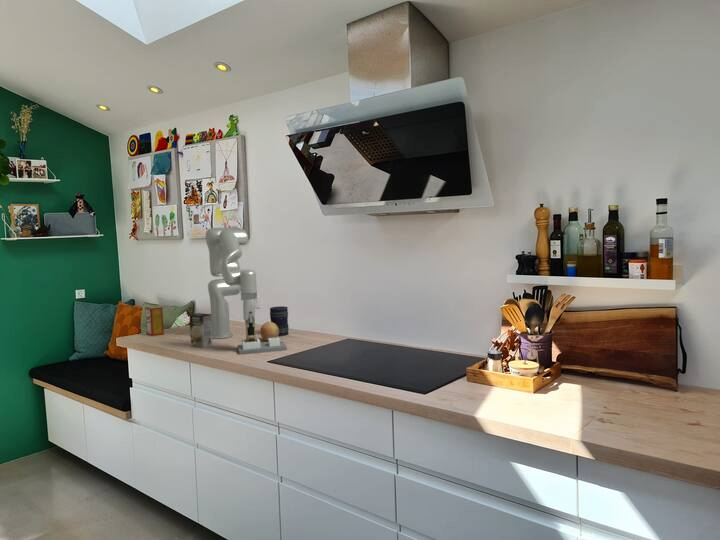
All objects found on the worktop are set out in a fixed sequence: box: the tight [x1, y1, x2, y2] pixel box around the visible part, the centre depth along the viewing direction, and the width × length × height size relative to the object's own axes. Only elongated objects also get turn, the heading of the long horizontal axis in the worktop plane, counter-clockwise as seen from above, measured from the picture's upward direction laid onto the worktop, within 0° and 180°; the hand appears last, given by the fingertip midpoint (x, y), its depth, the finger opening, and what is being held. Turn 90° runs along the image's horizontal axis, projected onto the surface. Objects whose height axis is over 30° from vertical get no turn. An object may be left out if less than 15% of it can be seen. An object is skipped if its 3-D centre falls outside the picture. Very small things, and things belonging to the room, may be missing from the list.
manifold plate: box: [237, 336, 288, 355], centre depth 244 cm, size 14×22×4 cm, turn 107°
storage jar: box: [269, 305, 290, 337], centre depth 278 cm, size 10×10×15 cm
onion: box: [259, 321, 279, 341], centre depth 263 cm, size 10×10×10 cm
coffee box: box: [189, 312, 213, 349], centre depth 255 cm, size 9×6×16 cm
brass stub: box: [244, 319, 257, 342], centre depth 242 cm, size 4×4×10 cm
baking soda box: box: [144, 305, 165, 337], centre depth 289 cm, size 10×6×16 cm
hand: (250, 333), depth 242 cm, fingers closed on brass stub, 4 cm apart
